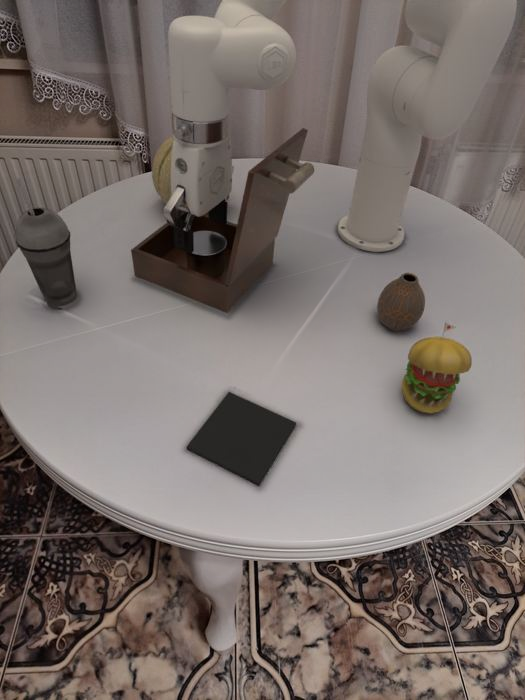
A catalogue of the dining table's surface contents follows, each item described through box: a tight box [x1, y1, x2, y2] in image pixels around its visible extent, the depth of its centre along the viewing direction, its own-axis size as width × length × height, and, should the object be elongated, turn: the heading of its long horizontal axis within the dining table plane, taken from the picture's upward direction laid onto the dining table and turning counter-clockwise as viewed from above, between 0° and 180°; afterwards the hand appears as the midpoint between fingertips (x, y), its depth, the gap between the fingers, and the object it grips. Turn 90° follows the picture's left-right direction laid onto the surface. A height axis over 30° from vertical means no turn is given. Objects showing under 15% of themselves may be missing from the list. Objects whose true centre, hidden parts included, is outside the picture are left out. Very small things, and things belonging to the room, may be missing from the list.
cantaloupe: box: [151, 135, 209, 214], centre depth 95 cm, size 15×15×15 cm
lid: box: [225, 127, 315, 286], centre depth 72 cm, size 18×16×5 cm
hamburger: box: [401, 321, 473, 414], centre depth 65 cm, size 8×7×12 cm
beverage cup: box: [14, 177, 77, 311], centre depth 72 cm, size 7×7×20 cm
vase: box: [376, 272, 426, 331], centre depth 77 cm, size 7×7×9 cm
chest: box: [130, 211, 276, 314], centre depth 84 cm, size 18×16×6 cm
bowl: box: [185, 231, 227, 278], centre depth 84 cm, size 7×7×5 cm
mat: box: [186, 391, 297, 487], centre depth 63 cm, size 10×10×1 cm
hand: (201, 235), depth 81 cm, fingers open, 9 cm apart
